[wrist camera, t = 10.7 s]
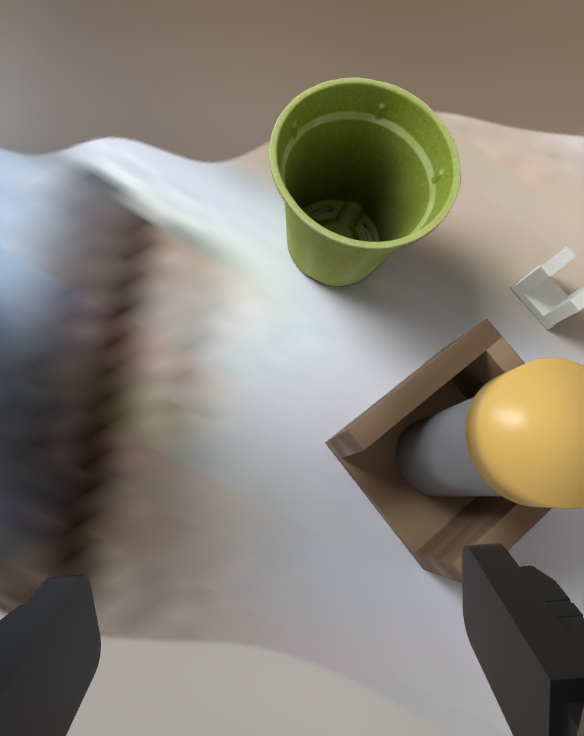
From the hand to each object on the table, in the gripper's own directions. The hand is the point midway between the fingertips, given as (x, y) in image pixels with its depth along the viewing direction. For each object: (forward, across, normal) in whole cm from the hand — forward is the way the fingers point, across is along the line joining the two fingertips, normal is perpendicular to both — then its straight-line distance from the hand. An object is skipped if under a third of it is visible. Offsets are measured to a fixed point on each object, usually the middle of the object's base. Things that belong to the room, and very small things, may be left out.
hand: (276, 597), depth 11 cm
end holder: (+19, -8, +5) cm, 21 cm away
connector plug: (+18, -8, +5) cm, 20 cm away
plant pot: (+24, -4, -8) cm, 26 cm away
